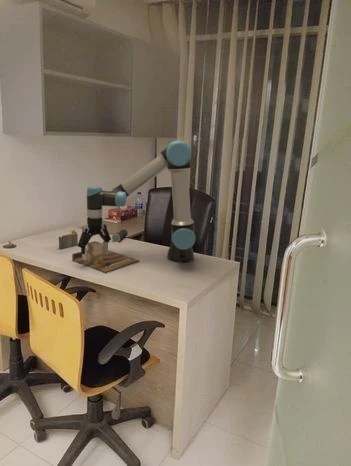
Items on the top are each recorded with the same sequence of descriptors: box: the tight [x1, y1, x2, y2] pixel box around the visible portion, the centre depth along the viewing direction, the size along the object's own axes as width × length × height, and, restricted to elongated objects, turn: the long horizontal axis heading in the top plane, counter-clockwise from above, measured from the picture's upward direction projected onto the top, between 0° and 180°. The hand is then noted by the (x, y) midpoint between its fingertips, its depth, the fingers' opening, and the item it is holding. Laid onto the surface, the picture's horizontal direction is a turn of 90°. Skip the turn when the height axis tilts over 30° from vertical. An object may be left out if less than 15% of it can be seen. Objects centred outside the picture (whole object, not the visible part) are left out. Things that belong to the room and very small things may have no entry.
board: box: [71, 245, 141, 274], centre depth 194 cm, size 26×24×4 cm
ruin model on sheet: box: [58, 229, 79, 250], centre depth 214 cm, size 11×3×10 cm, turn 143°
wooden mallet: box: [86, 240, 110, 266], centre depth 187 cm, size 13×5×10 cm, turn 53°
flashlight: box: [111, 228, 129, 243], centre depth 236 cm, size 15×5×5 cm, turn 167°
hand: (95, 256), depth 190 cm, fingers open, 13 cm apart
